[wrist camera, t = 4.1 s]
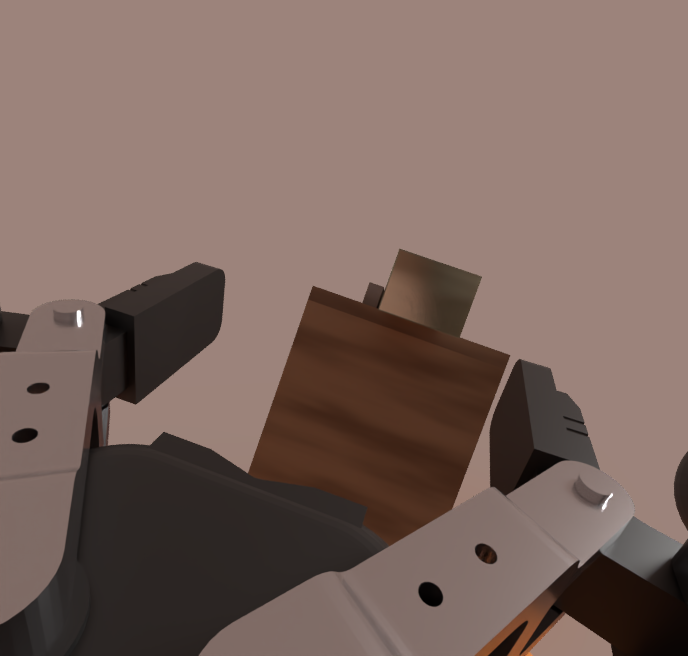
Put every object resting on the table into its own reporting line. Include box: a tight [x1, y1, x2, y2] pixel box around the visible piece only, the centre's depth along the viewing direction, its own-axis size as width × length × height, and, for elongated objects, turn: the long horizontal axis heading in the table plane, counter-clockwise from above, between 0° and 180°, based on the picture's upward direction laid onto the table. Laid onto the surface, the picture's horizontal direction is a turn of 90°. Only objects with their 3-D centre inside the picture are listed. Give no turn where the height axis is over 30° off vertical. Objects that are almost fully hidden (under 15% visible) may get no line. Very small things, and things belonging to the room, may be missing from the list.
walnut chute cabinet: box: [248, 283, 510, 546], centre depth 41 cm, size 18×14×34 cm
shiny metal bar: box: [378, 249, 482, 338], centre depth 34 cm, size 24×4×3 cm, turn 173°
